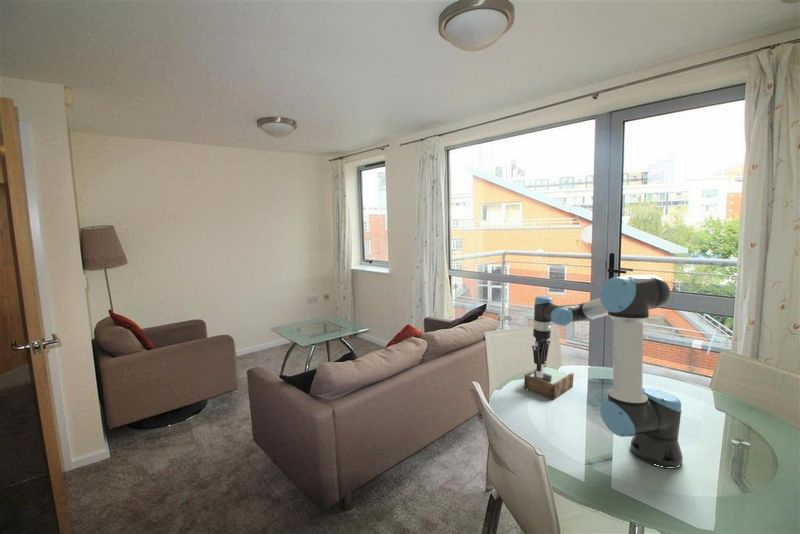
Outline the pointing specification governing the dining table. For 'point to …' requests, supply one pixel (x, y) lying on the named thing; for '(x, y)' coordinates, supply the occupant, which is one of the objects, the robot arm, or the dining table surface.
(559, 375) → the mint green panel
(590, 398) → the dining table surface
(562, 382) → the box
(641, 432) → the robot arm
